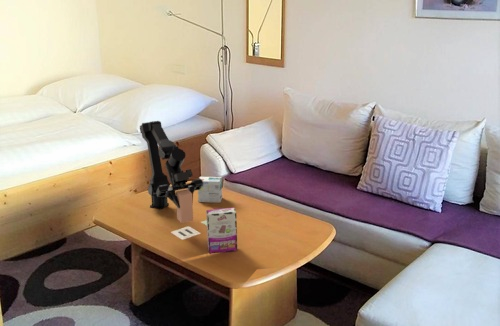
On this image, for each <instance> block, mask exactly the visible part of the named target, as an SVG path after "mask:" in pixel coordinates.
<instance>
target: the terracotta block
mask: <svg viewBox="0 0 500 326" xmlns="http://www.w3.org/2000/svg"><path fill="white" fill-rule="evenodd" d="M175 193H176V196H177V199H178V202H179V205H180V208H178V207H177V206H176V219H177V220H178V221H179V223H180V224H185V223H189V222H194V210H193V209H194V207H193V204H194V202H193V203H192V193H191V192H190V191H189V190H188V189H182V190H176V191H175Z"/></svg>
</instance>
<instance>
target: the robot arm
mask: <svg viewBox="0 0 500 326" xmlns="http://www.w3.org/2000/svg"><path fill="white" fill-rule="evenodd" d="M139 132H140V134H141V136H142V139H144V141H145V142H146V145H147V150H148V151H147V152H148V157H149V161H150V163H149V164H150V168H151V173H152V174H151V176H150V179H149V185H148V187H147V191H148V194H149V195H150V197H151V198H150V199H151V204H150V205H149V207H150V208H153V209H159V210H163V209H164V208H166V207H167V206H168V205H169V204H170V203H169V201H168V199H169V200H170V201H171V202H172V203H173V204H174V205H175V206H176V208H177V207H178V208H180V205H179V202H178V199H177V196H176V191H181V190H186V189H188V190H189V191H190V192H191V193H192V203H193V204H194V192H196V191H198V190H199V189H201V187H202V186H203V181H202V180H201V179H199V178H197V179H195V178H194V179H192V180H191V182H189V183H187V182H188V180H190V178H193V176H194V175H193V171H192V169H190V168H189V169H186V170H185V171H184V170H182V167H181V166H182V165H183V163H184V161H185V158H186V152H185V151H184V150H183V149H181V148H179V146H177V145H176V143H175V142H174V141H172V140H170V139H169V137H168V136H167V134H166V132H165V130H164V128H163V127H162V122H161V121H160V120H153V121H149V122H148V121H147V122H142V123H141V125H139ZM161 159H162V160H163V161H164V160H166V162H165V165H164V166H165V169H166V171H167V174H168V176H167V175H166V174H165V173H164V172H163V166H162V160H161Z"/></svg>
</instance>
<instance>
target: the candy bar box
mask: <svg viewBox="0 0 500 326" xmlns="http://www.w3.org/2000/svg"><path fill="white" fill-rule="evenodd" d="M205 214H206V220H207V226H206V235H207V249H208V253H209V254H219V253H228V252H237V251H238V232H237V231H238V230H237V229H238V227H237V226H238V225H237V221H238V220H237V210H236V209H235V207H226V208H214V209H207V210H206V212H205Z"/></svg>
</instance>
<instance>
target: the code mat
mask: <svg viewBox="0 0 500 326" xmlns="http://www.w3.org/2000/svg"><path fill="white" fill-rule="evenodd" d="M200 223H201V224H203V225H205V226H206V227H207V219H205V220H203V221H200ZM170 233H171V234H173V235H174V236H176V237H177V238H179V239H180V240H182V241H183V240H186V239H190V238H191V237H192V238H193V237H195V236H197V235H201V234H202V233H201V232H199V231H197V230H196V229H194V228H193V227H191V226H189V225H187V226H185V227H182V228H179V229H175V230H173V231H170Z"/></svg>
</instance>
